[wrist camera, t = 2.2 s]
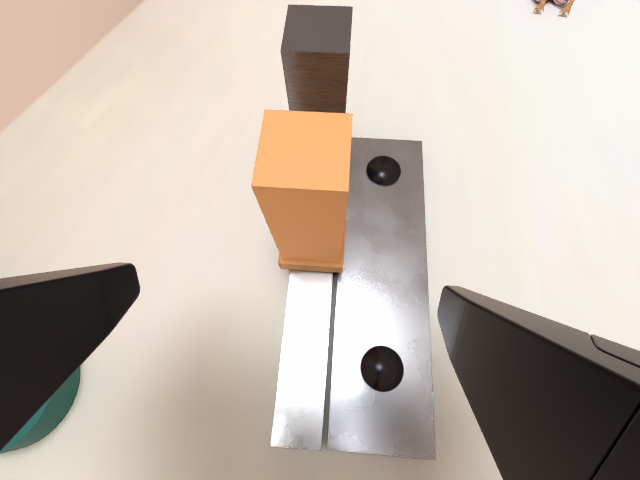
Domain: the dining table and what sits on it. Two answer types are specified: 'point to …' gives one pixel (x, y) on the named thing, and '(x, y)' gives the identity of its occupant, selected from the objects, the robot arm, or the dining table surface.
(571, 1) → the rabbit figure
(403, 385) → the bolt plate
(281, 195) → the block
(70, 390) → the bracket
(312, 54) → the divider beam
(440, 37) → the dining table surface
